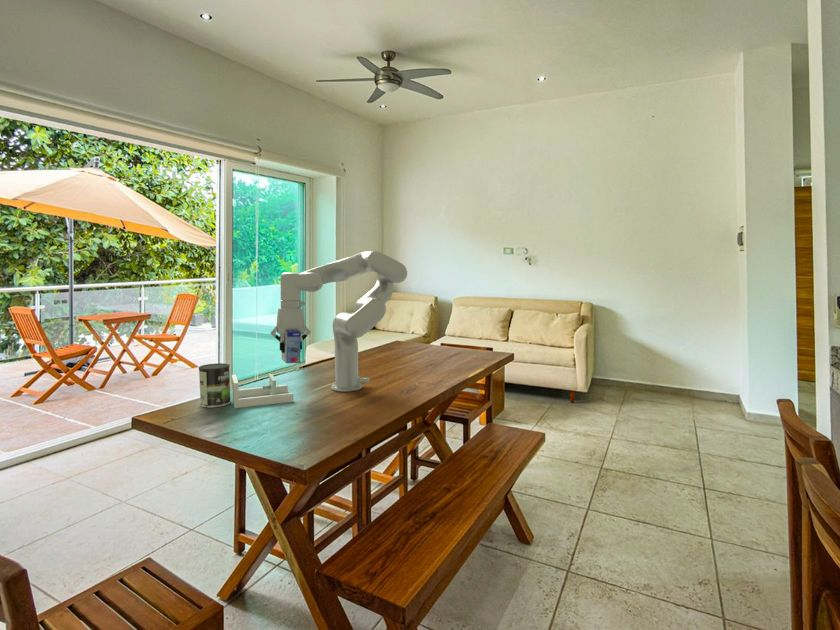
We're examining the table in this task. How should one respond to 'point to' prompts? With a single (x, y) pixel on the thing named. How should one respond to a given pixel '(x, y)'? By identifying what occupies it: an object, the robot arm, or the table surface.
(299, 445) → the table surface
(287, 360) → the ink cartridge box
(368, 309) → the robot arm
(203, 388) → the coffee can
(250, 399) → the lane
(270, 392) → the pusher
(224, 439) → the table surface
